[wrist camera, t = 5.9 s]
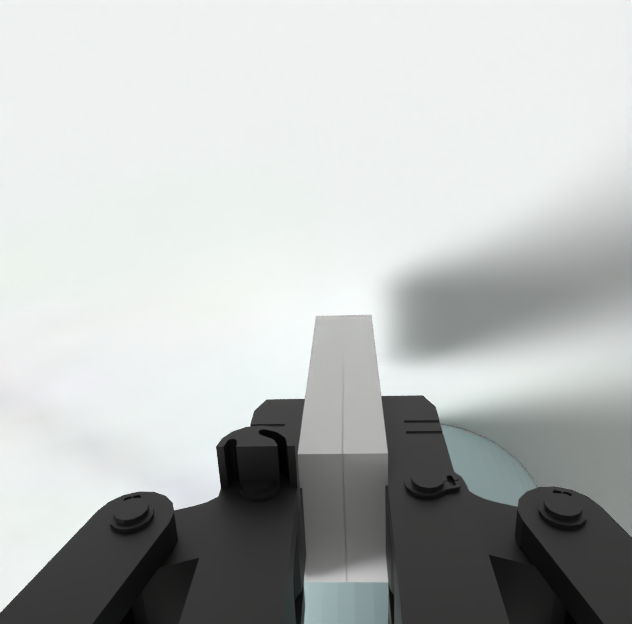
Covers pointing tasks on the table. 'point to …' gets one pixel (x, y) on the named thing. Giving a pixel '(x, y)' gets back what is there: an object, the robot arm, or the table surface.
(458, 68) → the table surface
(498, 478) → the mug
